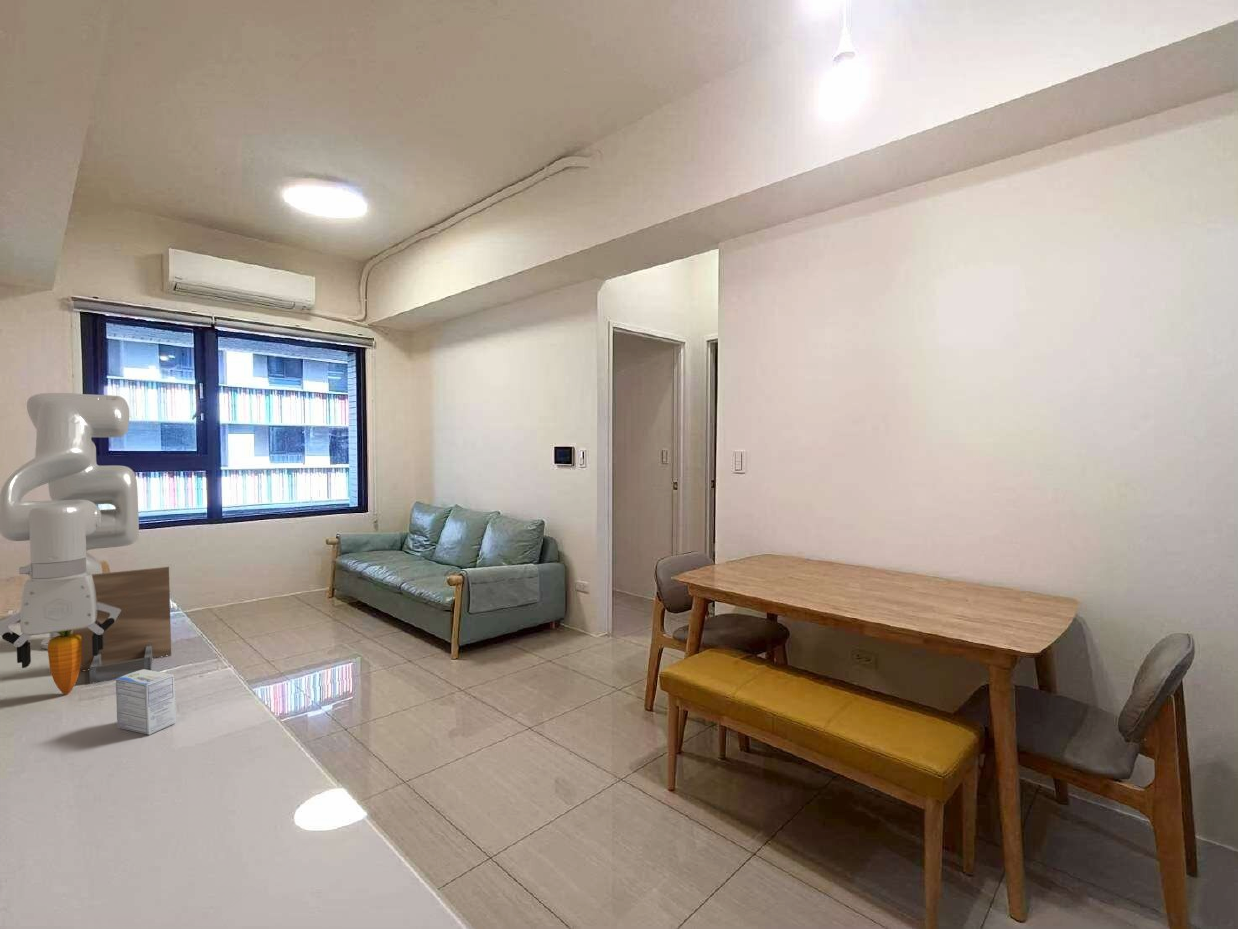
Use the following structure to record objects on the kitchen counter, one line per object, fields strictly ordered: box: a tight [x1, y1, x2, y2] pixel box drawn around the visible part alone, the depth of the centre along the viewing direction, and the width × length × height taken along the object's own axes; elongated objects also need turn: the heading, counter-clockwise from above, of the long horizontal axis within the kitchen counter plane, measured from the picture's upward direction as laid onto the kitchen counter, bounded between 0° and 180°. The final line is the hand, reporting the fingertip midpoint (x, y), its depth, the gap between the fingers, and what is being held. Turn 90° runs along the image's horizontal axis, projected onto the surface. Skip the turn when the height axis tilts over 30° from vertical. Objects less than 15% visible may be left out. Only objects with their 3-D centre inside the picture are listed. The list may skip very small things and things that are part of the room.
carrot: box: [47, 630, 82, 696], centre depth 109 cm, size 5×5×15 cm
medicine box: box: [115, 669, 177, 735], centre depth 96 cm, size 8×4×9 cm, turn 71°
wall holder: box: [73, 566, 172, 684], centre depth 121 cm, size 11×16×20 cm
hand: (62, 659), depth 108 cm, fingers open, 9 cm apart
